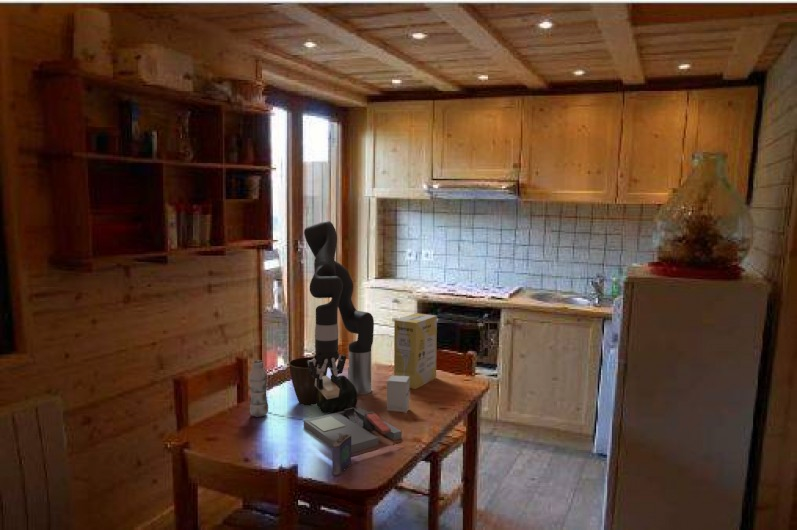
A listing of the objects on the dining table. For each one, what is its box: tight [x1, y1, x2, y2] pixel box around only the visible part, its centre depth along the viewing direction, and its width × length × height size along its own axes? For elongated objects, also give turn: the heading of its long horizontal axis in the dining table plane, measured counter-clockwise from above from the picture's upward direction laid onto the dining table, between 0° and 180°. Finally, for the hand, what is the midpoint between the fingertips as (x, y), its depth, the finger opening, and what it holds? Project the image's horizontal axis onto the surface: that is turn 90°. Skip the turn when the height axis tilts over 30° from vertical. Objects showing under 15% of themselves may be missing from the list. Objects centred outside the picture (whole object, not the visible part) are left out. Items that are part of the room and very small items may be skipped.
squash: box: [315, 375, 358, 414], centre depth 207 cm, size 14×15×15 cm
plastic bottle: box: [248, 359, 269, 418], centre depth 203 cm, size 6×7×20 cm
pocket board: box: [303, 406, 403, 458], centre depth 186 cm, size 26×22×4 cm
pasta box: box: [393, 312, 438, 390], centre depth 244 cm, size 18×10×28 cm, turn 148°
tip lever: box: [344, 407, 391, 435], centre depth 188 cm, size 23×6×8 cm, turn 35°
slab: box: [315, 375, 340, 399], centre depth 185 cm, size 9×4×3 cm, turn 35°
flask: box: [331, 433, 352, 477], centre depth 163 cm, size 9×3×11 cm, turn 158°
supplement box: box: [386, 374, 410, 414], centre depth 209 cm, size 7×7×13 cm
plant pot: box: [288, 356, 329, 407], centre depth 217 cm, size 15×15×16 cm
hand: (326, 387), depth 186 cm, fingers closed on slab, 4 cm apart
